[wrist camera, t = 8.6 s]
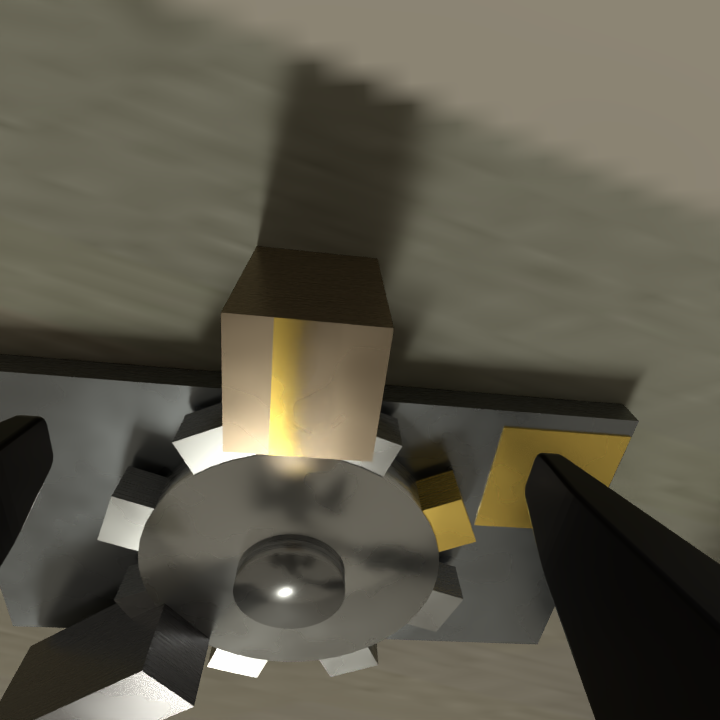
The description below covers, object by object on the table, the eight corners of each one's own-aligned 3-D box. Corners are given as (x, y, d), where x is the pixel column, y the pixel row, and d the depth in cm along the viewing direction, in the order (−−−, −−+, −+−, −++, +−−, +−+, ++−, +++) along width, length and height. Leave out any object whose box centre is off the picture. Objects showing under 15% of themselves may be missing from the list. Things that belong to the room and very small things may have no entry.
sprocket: (348, 318, 14) (351, 387, 11) (520, 568, 19) (559, 667, 16) (-77, 568, 18) (-171, 676, 15) (161, 720, 23) (132, 825, 20)
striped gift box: (377, 258, 15) (394, 328, 10) (363, 362, 16) (372, 461, 12) (256, 246, 14) (220, 312, 10) (254, 353, 16) (222, 451, 12)
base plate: (623, 404, 17) (639, 422, 16) (529, 623, 23) (537, 645, 22) (-49, 350, 15) (-73, 366, 15) (26, 603, 21) (12, 627, 20)
